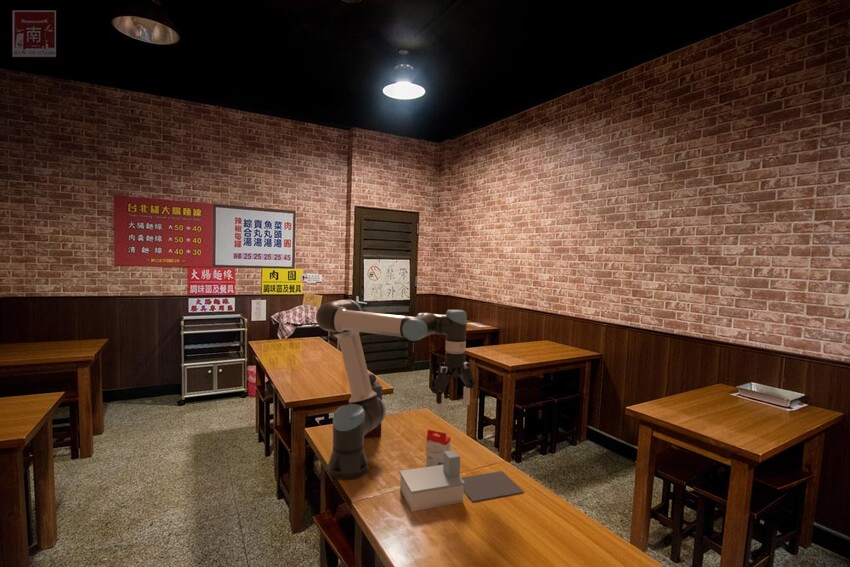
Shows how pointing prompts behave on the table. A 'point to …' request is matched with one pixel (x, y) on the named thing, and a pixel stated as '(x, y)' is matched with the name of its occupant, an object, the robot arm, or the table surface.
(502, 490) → the mat
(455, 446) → the table surface
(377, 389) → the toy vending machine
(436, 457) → the ink box
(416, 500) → the tub
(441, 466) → the lid
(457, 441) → the table surface
